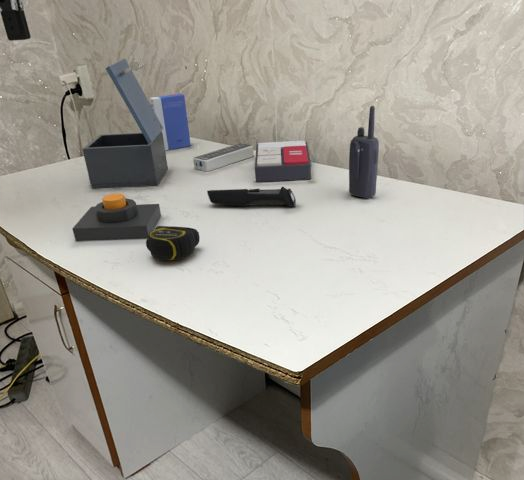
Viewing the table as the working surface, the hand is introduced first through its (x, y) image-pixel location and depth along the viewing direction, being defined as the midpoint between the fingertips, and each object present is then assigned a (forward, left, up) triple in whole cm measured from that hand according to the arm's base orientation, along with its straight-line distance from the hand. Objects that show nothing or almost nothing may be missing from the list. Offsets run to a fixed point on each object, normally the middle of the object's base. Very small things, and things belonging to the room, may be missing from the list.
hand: (19, 39), depth 88 cm
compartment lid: (+14, +13, -12) cm, 23 cm away
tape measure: (+26, -26, -27) cm, 46 cm away
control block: (+15, -15, -27) cm, 34 cm away
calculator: (+42, +14, -27) cm, 52 cm away
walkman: (+15, +37, -27) cm, 48 cm away
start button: (+15, -15, -24) cm, 32 cm away
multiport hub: (+29, +22, -27) cm, 46 cm away
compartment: (+10, +13, -27) cm, 32 cm away
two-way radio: (+56, -4, -27) cm, 62 cm away
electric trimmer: (+37, -7, -27) cm, 46 cm away
